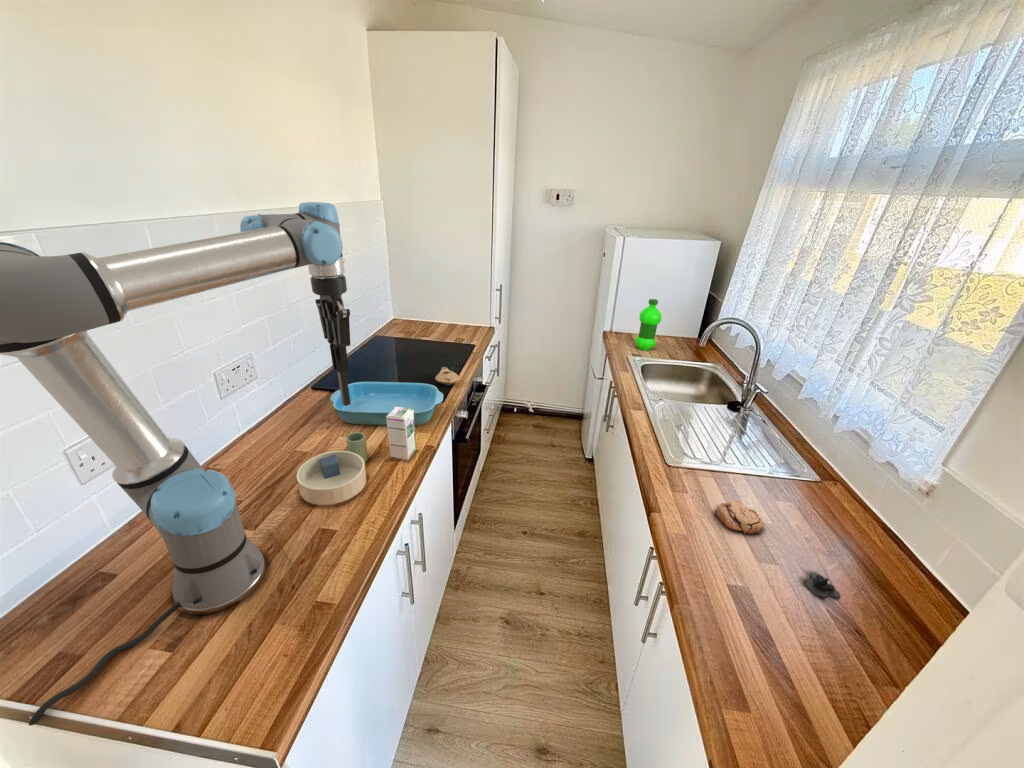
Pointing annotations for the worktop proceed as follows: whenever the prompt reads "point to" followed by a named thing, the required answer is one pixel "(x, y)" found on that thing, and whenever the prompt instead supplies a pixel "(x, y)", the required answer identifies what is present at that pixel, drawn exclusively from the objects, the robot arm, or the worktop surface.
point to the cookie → (740, 517)
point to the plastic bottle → (648, 326)
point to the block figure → (821, 586)
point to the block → (329, 466)
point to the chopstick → (343, 386)
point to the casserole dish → (386, 401)
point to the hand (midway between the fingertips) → (341, 368)
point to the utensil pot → (357, 444)
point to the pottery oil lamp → (446, 376)
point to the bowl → (332, 479)
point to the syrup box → (401, 432)
